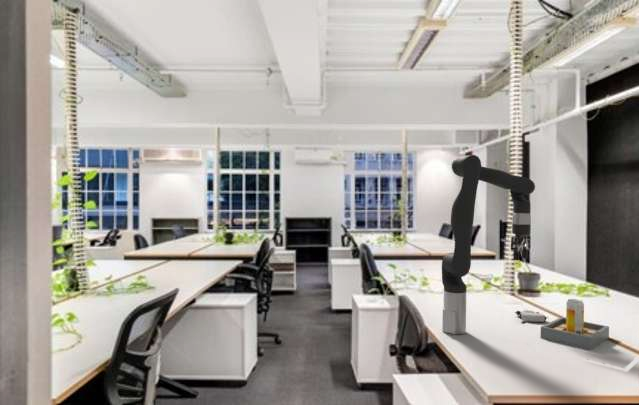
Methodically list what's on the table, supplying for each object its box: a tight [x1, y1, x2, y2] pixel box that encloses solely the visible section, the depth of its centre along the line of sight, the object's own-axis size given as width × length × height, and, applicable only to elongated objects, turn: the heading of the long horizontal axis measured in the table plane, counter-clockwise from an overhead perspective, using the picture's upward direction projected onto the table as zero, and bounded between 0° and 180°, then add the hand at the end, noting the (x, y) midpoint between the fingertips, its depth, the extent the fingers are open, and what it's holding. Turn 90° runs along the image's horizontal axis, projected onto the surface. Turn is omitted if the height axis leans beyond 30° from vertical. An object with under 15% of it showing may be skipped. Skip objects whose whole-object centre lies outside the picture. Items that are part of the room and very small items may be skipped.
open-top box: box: [540, 317, 610, 351], centre depth 178 cm, size 22×18×6 cm
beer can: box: [565, 298, 585, 334], centre depth 178 cm, size 6×6×15 cm
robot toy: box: [514, 309, 549, 324], centre depth 206 cm, size 12×4×15 cm
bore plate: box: [552, 323, 598, 336], centre depth 178 cm, size 14×14×3 cm
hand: (520, 259), depth 199 cm, fingers open, 8 cm apart
